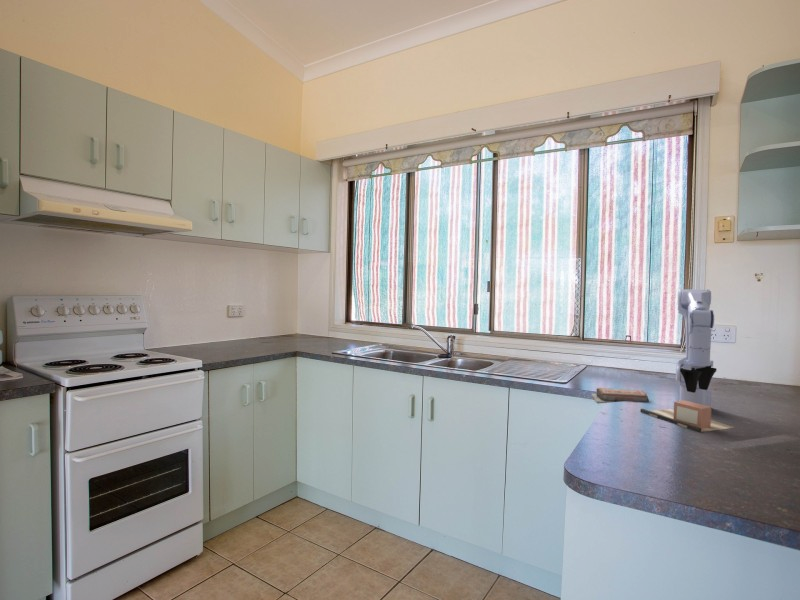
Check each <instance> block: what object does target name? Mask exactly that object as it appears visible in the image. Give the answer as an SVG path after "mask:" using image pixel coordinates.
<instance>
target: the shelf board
mask: <svg viewBox="0 0 800 600" xmlns="http://www.w3.org/2000/svg"><path fill="white" fill-rule="evenodd" d="M640 413H642V414H645V415H648V416H650V417H652V418H655V419H660V420H663V421H665V422H667V423H671V424H674V425H677V426H679V427H682V428H684V429H689V430H691V431H694V432H697V433H704V432H711V431H719V430H728V429H735V428H736V427H734V426H732V425H728V424H725V423H722V422H718V421H716V420H714V419H711V426H710V427H707V428H703V429H701V428H699V427H696V426H693V425H690V424H687V423H684V422H681V421H678V420H675V419H673V418H674V408H667V409H657V410H648V409H644V408H641V409H640Z"/></svg>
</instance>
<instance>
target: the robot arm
mask: <svg viewBox="0 0 800 600" xmlns="http://www.w3.org/2000/svg"><path fill="white" fill-rule="evenodd" d="M711 303H712V291H711V290H710V289H688V288H687V289H686V288H685V289H682V288H680V289H678V291H677V310H678V313H679V315H682V316H683V318H684V323H685V356H684V357H683V358H681V359H678V361H677V362H676V367H675V382H676V383H677V384H679V399H678V401H682V400H685V401H689V402H693V403H697V404H701V405H705V406H709V407H711V408H712V391H711V390H710V388H709V386H711V381H712V378H713V376H714V375H715V373H716V372H717V368H715V367H714V360H712V359H711V347H712V329H713V327H714V325H715V313H714V310H712V309H711V310H710V307H711Z"/></svg>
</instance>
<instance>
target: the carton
mask: <svg viewBox="0 0 800 600" xmlns="http://www.w3.org/2000/svg"><path fill="white" fill-rule="evenodd" d="M673 409H674V418H673V419H675V420H678V421H681V422H684V423H687V424H690V425H693V426H696V427H699V428H701V429H703V428H707V427H710V426H711V420H712V406H711V407H709V406H705V405H701V404H697V403H693V402H689V401H685V400H682V401H679V400H678V401H673Z"/></svg>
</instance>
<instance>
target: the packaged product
mask: <svg viewBox="0 0 800 600" xmlns="http://www.w3.org/2000/svg"><path fill="white" fill-rule="evenodd" d="M591 397H592V399H593V400H594V401H595V403H597V404H607V403H608V404H609V403H619V402H621V403H622V402H643V403H644V402H648V403H649V401H650V398H649V396H648V394H647V393H645V391H643V390H635V389H634V390H632V389H624V388H623V389H622V388H620V389H619V388H611V387H610V388H608V387H597V388H596V393H591Z"/></svg>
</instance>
